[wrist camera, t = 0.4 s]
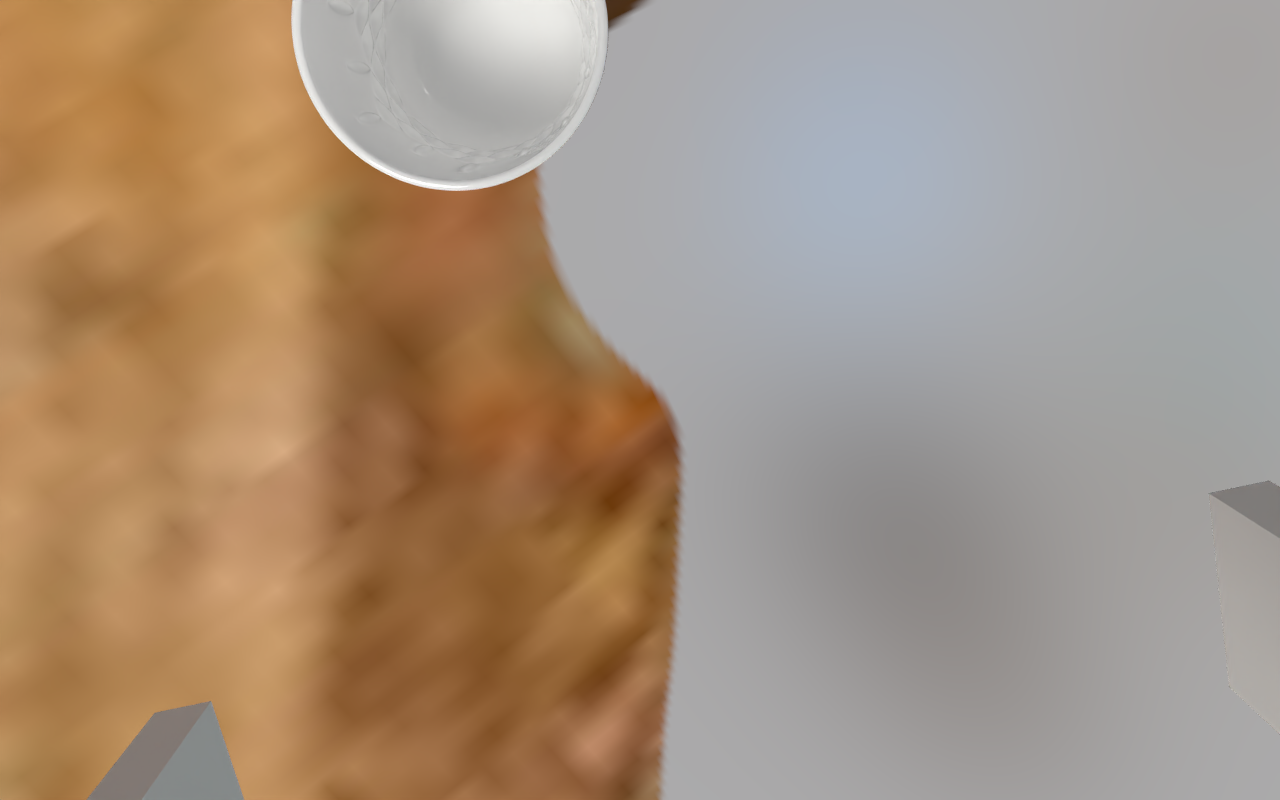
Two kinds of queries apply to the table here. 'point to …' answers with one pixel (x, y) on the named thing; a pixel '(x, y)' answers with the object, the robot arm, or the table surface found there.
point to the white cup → (451, 82)
